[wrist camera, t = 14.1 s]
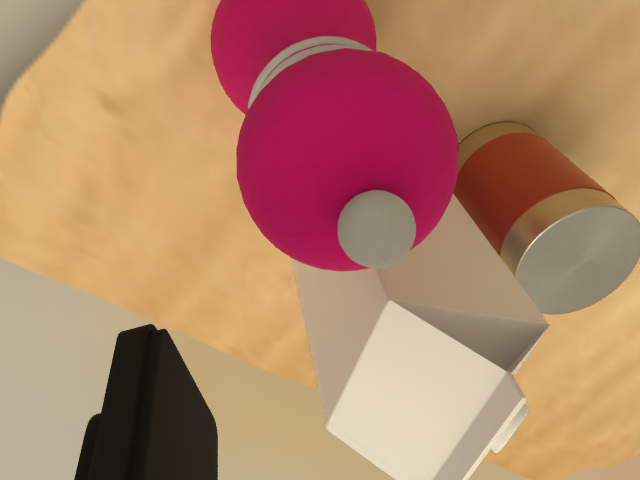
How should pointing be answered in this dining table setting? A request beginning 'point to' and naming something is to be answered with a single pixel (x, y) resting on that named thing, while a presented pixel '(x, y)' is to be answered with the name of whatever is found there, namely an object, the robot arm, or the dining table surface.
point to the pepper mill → (332, 133)
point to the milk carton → (422, 352)
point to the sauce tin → (545, 218)
